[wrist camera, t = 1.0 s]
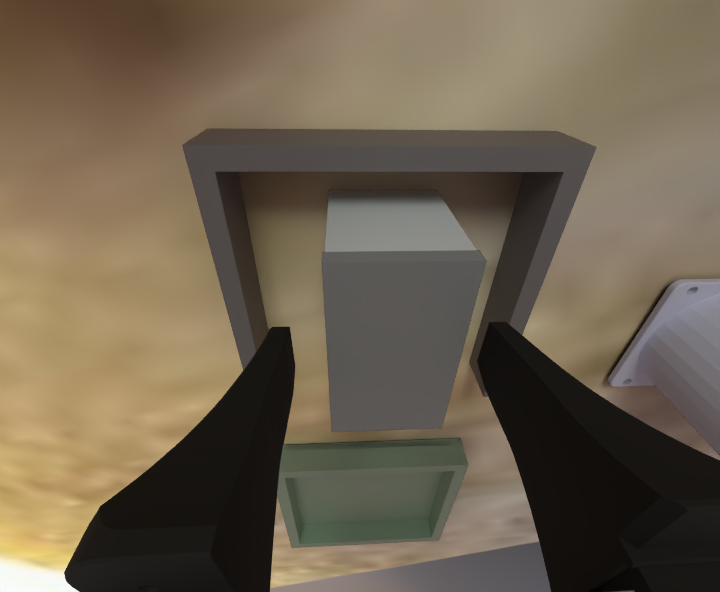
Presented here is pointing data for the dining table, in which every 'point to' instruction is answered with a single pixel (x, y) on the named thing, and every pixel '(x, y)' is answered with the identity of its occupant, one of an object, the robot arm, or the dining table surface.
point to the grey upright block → (395, 307)
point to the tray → (369, 491)
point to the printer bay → (389, 154)
